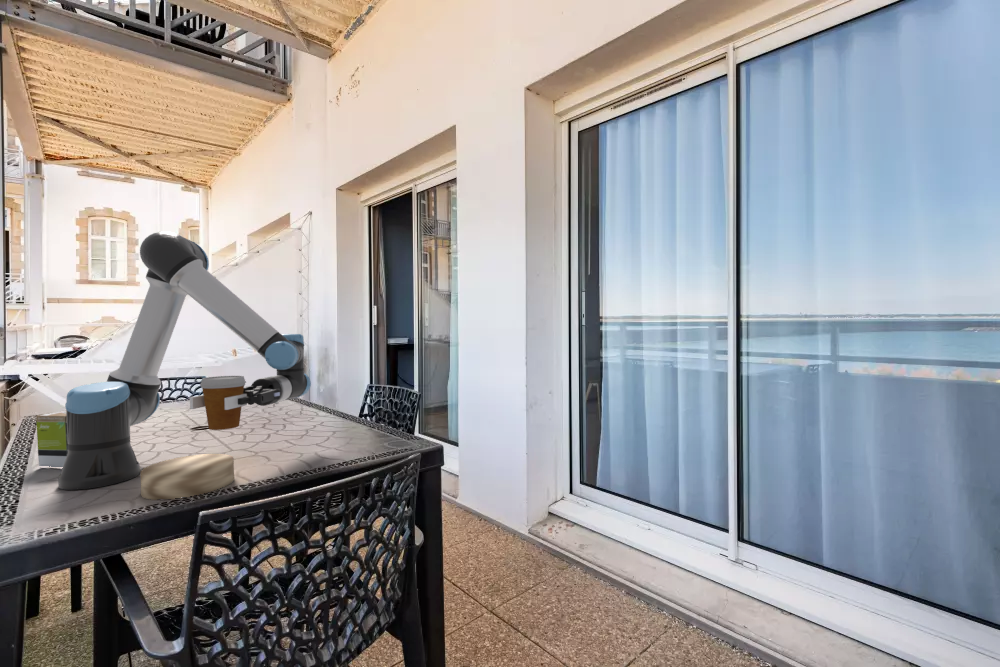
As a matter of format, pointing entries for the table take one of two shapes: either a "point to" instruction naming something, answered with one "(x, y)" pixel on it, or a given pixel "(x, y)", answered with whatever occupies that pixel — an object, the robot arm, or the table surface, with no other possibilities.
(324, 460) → the table surface
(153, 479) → the wooden plinth
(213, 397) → the disposable coffee cup
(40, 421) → the tea box
